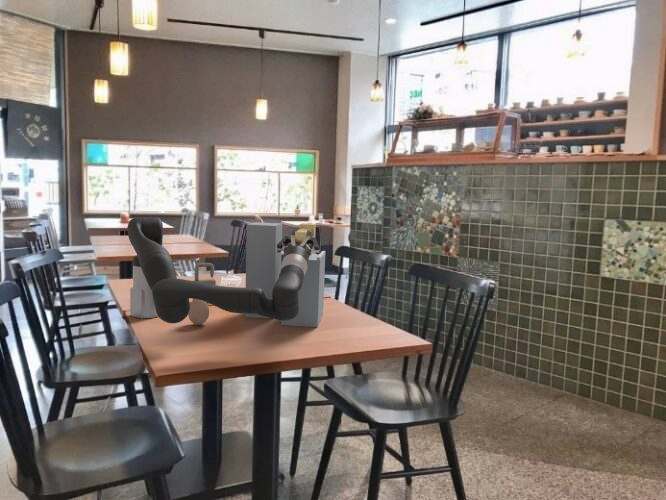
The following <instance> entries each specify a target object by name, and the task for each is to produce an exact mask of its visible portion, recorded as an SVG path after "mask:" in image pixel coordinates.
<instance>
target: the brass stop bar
mask: <svg viewBox="0 0 666 500" xmlns="http://www.w3.org/2000/svg"><path fill="white" fill-rule="evenodd" d="M316 225H317V224H316V223H299V228H298V229H297V231H296V232H295V242H298V243H300V242H303V240H304V239H305V238H306V235H307V230H310V232H311V234H312V237H311V238H313V237H314V238H316V227H317V226H316Z"/></svg>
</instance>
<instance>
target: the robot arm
mask: <svg viewBox="0 0 666 500" xmlns="http://www.w3.org/2000/svg"><path fill="white" fill-rule="evenodd" d="M163 225H164V224H163V222H162V219H160V218H159V217H142V216H141V217H133V218H131V219H130V220H129V221H128V222H127V226H126V227H127V229H126V231H127V236H128V240H129V242H130V244H131V246H132V248H133V250H134V251H135V253H136V255H134V257H133V258H132V287H130V292H129V295H130V299H129V300H130V302H129V303H130V304H129V305H130V311H129V312H130V315H129V316H130V317H134V318H139V319H141V320H142V319H153V318H159V319H160V320H162V321H163V322H165V323H168V324H177V323H181V322H182V321H184V320H185V319H186V318H187V317H188V313H189V311H190V303H191V301H190V299H192V300H193V299H198V300H202V301H205V302H207V304H210V305H212V306H215V307H217V308H218V309H221V310H222V311H226V312H228V313H233V314H245V313H246V314H259V315H262V316H265V317H269V318H273V320H277V321H281V320H282V321H286V320H291V319H293V318H295V317H296V316H297V315H298V313H299V300H298V291H299V290H300V289H301V287H302V284H303V279H304V276H305V273H306V270H307V265H308V260H309V256H310V255H311V254H312V253H316V254H317V255H318V254H320V253H321V252H320V251H321V249H320V247H321V246H320V245H319V243H318V240H317V239H316V237H315V238H314V237H313V238H311V237H312V234H311V232H310V230H307V235H306V238H305V239H304V240H303V242H300V243H298V242H295V232H296V231H298V229H294V230H293V231H292V232H291V235H290V236H288V235H285V236H284V237H282V240H281V241H280V242H279V243H278V244H277V252H278V253H280V252H281V253H282V252H283V255H284V257H283V256H282V259H281V271H280V275H279V279H278V280H277V282H276V283H275V285H274V287H273V291H272V300H271V299H268V298H267V297H266V296H265V294H264V292H263V290H262V289H260V288H246V287H236V286H235V287H234V286H232V287H231V286H222V285H217V284H216V285H212V284H207V283H201V282H195V281H193V280H189V279H183V278H177V277H178V276H177V272H176V268H175V265H174V262H173V259H172V257H171V254H170V252H169V251H168V249H166V247H164V246H163V240H164V239H163V237H164V226H163ZM310 245H311V246H312V248H310Z"/></svg>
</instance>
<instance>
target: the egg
mask: <svg viewBox="0 0 666 500" xmlns="http://www.w3.org/2000/svg"><path fill="white" fill-rule="evenodd" d="M208 304H209V303H208V302H205V301H202V300H198V299H192V300H191V301H190V311H189V313H188V315H187V317H188V319H189V321H190V322H191V323H192V324H193V325H195V326H201V325H203V324H205V323H206V322H207V320H208V319H209V316H210V308H209V305H208Z"/></svg>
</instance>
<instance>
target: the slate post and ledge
mask: <svg viewBox="0 0 666 500" xmlns="http://www.w3.org/2000/svg"><path fill="white" fill-rule="evenodd" d="M245 239H246V241H245V242H246V247H245V253H246V254H245V288H260V289H262V290H263V292H264V294H265V296H266V297H267V298H268V299H271V300H272V291H273V287H274V285H275V283H276V282H277V280H278V279H279V275H280V271H281V264H282V258H283V257H284V254H283V256H282V251H281V252H280V253H278V252H277V244H278V243H279V242H280V241H281V240H282V239H283V223H281V222H279V223H277V222H276V223H275V222H256V221H254V222H251V223H248V224H246V238H245ZM325 268H326V250H322V251H321V252H320V254H318V255H317V254H316V253H312V254H311V255H310V256H309V260H308V265H307V270H306V273H305V276H304V279H303V284H302V287H301V289H300V290H299V291H298V300H299V313H298V315H297V316H296V317H295V318H293V319H291V320H286V321H282V320H280V321H281V323H280V324H281V326H291V327H292V326H293V327H307V328H308V327H309V328H311V327H312V328H318V327H319V325H320V323H321V320H322V318H323V316H324V302H325V299H324V297H325V274H326V273H325V271H326V270H325ZM244 318H251V319H269V320H272V319H273V318H269V317H265V316H262V315H259V314H246V313H244ZM273 320H274V319H273Z"/></svg>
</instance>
